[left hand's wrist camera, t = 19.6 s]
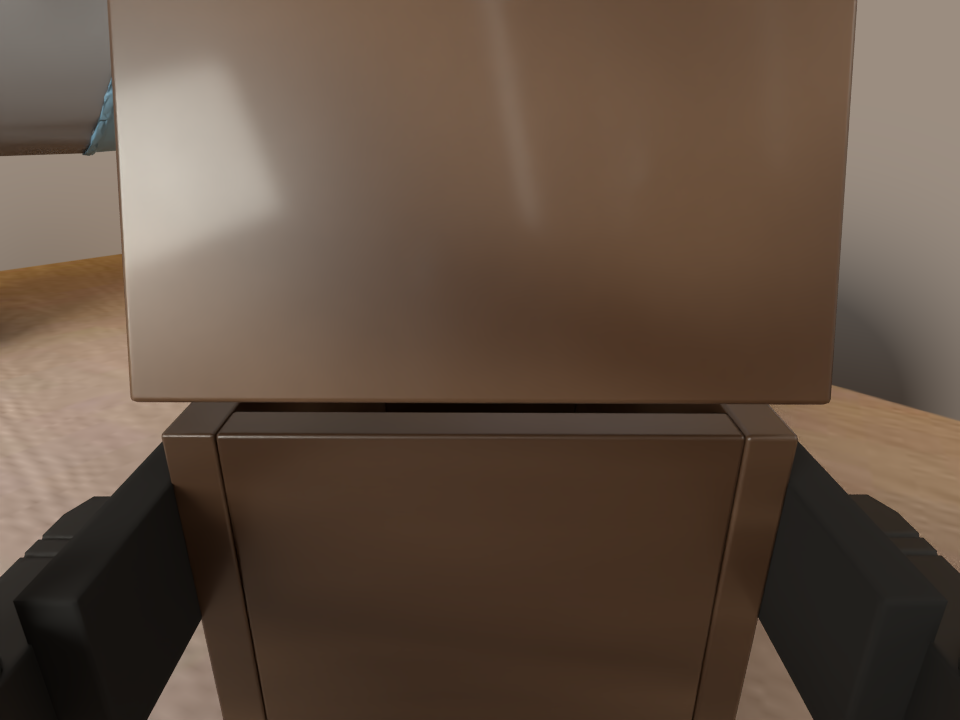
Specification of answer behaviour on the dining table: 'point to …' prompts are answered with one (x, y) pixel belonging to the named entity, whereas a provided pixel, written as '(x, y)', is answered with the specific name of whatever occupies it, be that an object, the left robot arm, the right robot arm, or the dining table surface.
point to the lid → (481, 199)
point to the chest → (479, 556)
